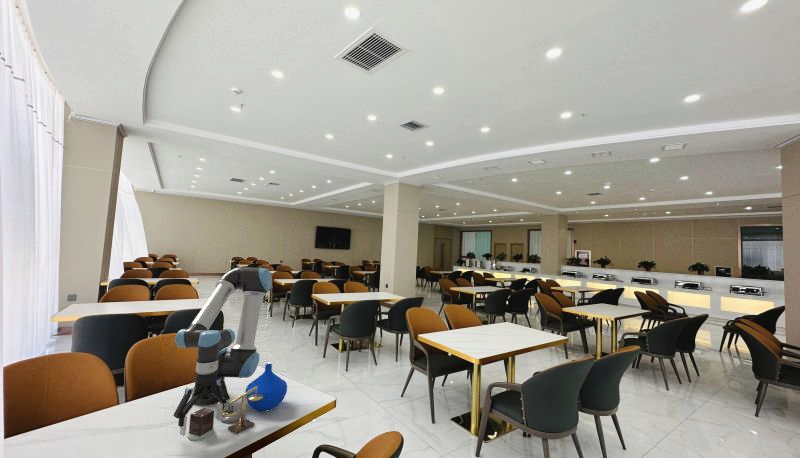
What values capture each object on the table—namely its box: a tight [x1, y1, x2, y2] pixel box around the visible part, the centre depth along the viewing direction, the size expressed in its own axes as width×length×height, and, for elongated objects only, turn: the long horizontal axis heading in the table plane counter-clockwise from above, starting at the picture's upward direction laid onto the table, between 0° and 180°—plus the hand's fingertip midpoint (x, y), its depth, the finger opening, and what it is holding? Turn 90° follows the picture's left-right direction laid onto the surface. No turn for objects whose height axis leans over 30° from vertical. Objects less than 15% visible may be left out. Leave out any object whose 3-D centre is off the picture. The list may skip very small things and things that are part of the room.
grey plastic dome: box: [220, 410, 241, 425], centre depth 139 cm, size 9×9×1 cm
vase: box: [244, 363, 288, 412], centre depth 152 cm, size 18×18×19 cm
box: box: [188, 407, 215, 436], centre depth 127 cm, size 6×6×7 cm
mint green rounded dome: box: [186, 426, 215, 441], centre depth 127 cm, size 9×9×1 cm
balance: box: [222, 386, 263, 435], centre depth 133 cm, size 6×17×15 cm, turn 148°
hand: (201, 426), depth 127 cm, fingers open, 13 cm apart
